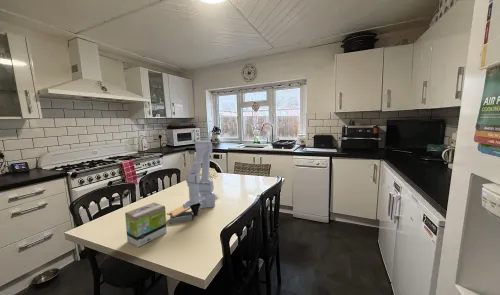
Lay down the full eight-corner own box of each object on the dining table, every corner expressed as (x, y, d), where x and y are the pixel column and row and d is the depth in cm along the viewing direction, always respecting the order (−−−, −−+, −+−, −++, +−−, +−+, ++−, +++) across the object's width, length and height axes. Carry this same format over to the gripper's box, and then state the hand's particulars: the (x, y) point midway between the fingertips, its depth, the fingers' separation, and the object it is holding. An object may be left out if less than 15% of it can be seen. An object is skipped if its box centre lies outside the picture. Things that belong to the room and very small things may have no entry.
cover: (182, 206, 127) (182, 204, 127) (190, 208, 124) (190, 206, 124) (166, 214, 117) (166, 212, 117) (173, 217, 113) (173, 214, 113)
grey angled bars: (192, 215, 122) (192, 210, 122) (192, 220, 116) (191, 215, 116) (171, 218, 119) (171, 213, 119) (170, 223, 113) (169, 218, 113)
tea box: (138, 248, 91) (135, 217, 90) (127, 241, 97) (123, 212, 95) (167, 232, 104) (165, 205, 102) (156, 227, 109) (153, 201, 107)
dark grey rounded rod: (194, 217, 121) (193, 213, 121) (194, 218, 118) (193, 214, 119) (179, 219, 118) (179, 215, 118) (179, 220, 116) (179, 216, 116)
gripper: (200, 189, 126) (201, 209, 127) (179, 195, 115) (180, 218, 116) (207, 191, 121) (208, 212, 123) (186, 198, 110) (187, 222, 112)
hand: (195, 215), depth 119 cm, fingers closed
